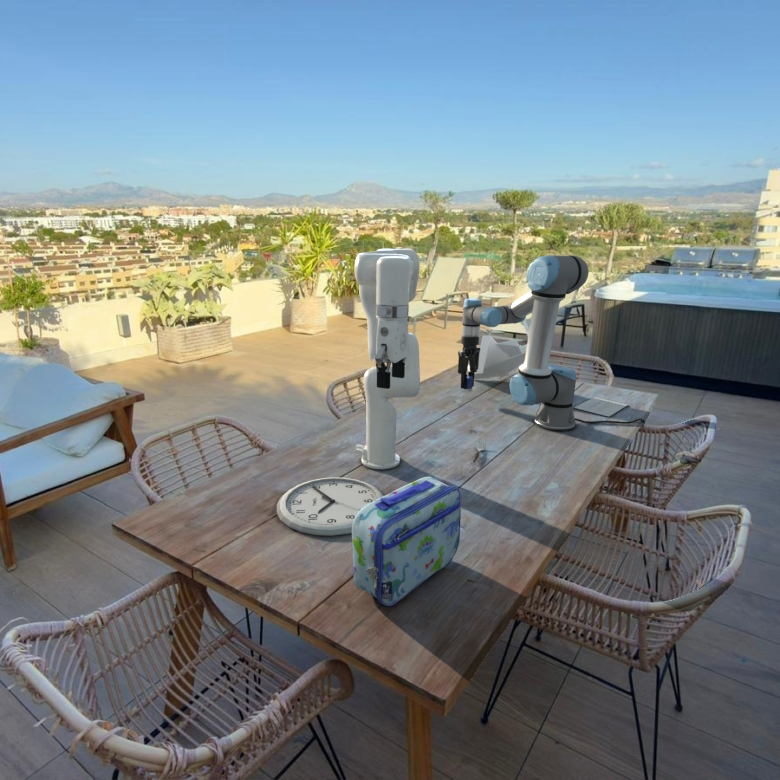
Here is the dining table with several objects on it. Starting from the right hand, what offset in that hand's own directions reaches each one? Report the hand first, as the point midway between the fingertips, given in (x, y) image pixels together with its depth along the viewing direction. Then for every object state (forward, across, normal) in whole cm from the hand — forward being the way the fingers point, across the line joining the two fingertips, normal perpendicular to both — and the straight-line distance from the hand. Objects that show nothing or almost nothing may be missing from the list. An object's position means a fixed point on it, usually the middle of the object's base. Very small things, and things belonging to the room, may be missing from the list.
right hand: (467, 387), depth 231 cm
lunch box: (+6, +111, +64) cm, 128 cm away
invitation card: (+6, -35, +46) cm, 58 cm away
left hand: (-31, +96, +44) cm, 110 cm away
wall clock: (+6, +102, +29) cm, 106 cm away
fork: (+6, +46, +38) cm, 60 cm away
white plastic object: (+6, -31, +2) cm, 32 cm away
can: (0, 0, 0) cm, 0 cm away
